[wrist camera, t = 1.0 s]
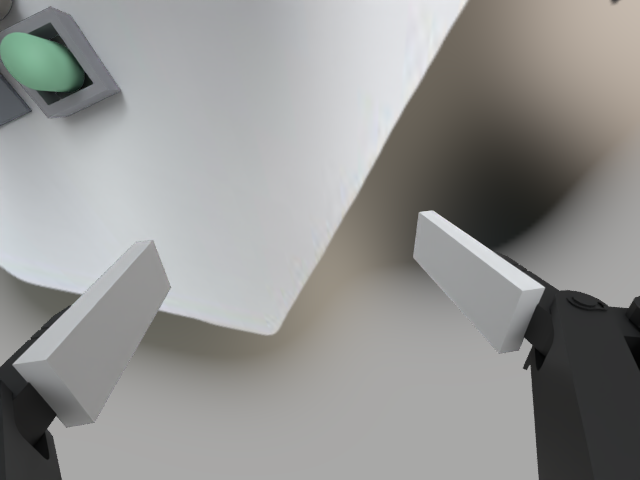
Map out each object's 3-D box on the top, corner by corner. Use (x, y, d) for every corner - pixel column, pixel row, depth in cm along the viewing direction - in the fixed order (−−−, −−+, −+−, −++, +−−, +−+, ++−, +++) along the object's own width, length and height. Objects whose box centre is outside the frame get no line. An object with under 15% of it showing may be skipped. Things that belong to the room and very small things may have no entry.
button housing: (9, 45, 31) (-17, 39, 28) (70, 15, 30) (50, 6, 28) (65, 117, 34) (48, 117, 32) (121, 90, 34) (107, 89, 31)
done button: (21, 52, 30) (-14, 45, 26) (60, 33, 30) (30, 23, 26) (57, 99, 32) (30, 98, 29) (94, 82, 32) (71, 78, 28)
